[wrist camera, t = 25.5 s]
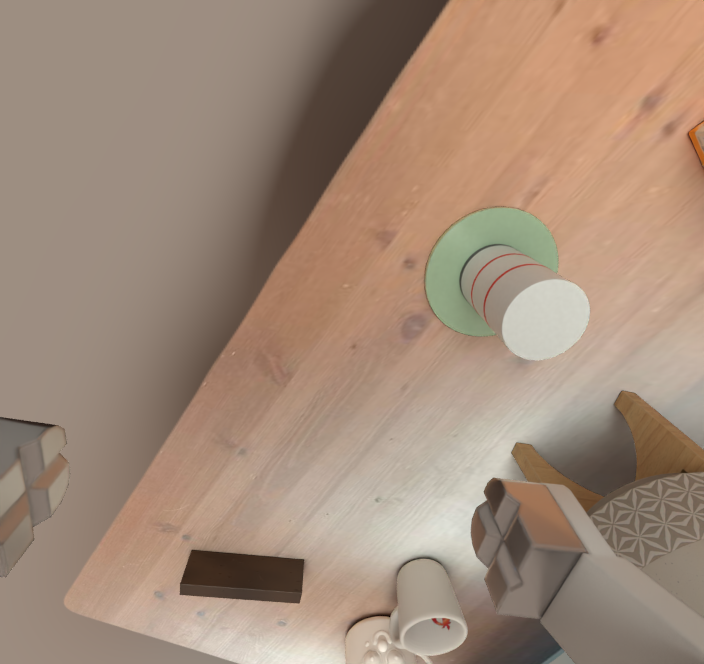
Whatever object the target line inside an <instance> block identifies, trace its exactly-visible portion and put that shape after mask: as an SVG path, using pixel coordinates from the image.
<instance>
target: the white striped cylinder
mask: <svg viewBox="0 0 704 664" xmlns="http://www.w3.org/2000/svg"><path fill="white" fill-rule="evenodd" d="M459 284H460V290H461V292H462V294H463V296H464V298H465V299H466V300H467V301H468V302H469V303H470V305H471V306H472V307H473V308H474V309H475V310H476V312H477V313H478V314H479V315H480V316H481V317H482V318H483V320H484V321H485V322H486V323H487V324H488V325H489V327H490V328H491V329H492V330H493V331H494V332H495V334H496V335H497V336H498V337H499V338H500V339H501V341H502V342H503V343H504V344H505V345H506V346H507V348H508V349H509V350H510V351H511V352H512V353H514V354H515V355H517V356H519V357H521V358H524V359H528V360H545V359H549V358H553V357H555V356H558V355H560V354H562V353H564V352H565V351H567V350H568V349H569V348H571V347H572V346H573V345H574V344H575V343H576V342H577V341H578V340H579V339H580V337H581V336H582V334H583V333H584V331H585V329H586V327H587V324H588V322H589V317H590V305H589V301H588V298H587V296H586V294H585V293H584V291H583V290H582V289H581V288H580V287H579V286H577V285H576V284H574V283H572V282H571V281H569V280H567V279H566V278H564V277H562V276H560V275H559V274H557V273H555V272H554V271H552V270H551V269H549V268H547V267H545V266H543V265H542V264H540V263H538V262H536V261H535V260H533V259H532V258H530V257H528V256H526V255H524V254H523V253H521V252H519V251H518V250H516V249H515V248H513V247H511V246H508V245H505V244H492V245H488V246H485V247H483V248H481V249H479V250H477V251H476V252H474V253H473V254H472V255H471V256H470V257H469V258H468V259H467V261H466V262H465V264H464V266H463V268H462V270H461V273H460V279H459Z"/></svg>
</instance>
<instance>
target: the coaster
mask: <svg viewBox="0 0 704 664" xmlns="http://www.w3.org/2000/svg"><path fill="white" fill-rule="evenodd" d="M492 244H505V245H508V246H511V247H513V248H515V249H516V250H518V251H519V252H521V253H523V254H524V255H526V256H528V257H530V258H532V259H533V260H535V261H536V262H538V263H540V264H542V265H543V266H545V267H547V268H549V269H551V270H552V271H554V272H555V273H557V272H558V252H557V247H556V244H555V241H554V238H553V236H552V235H551V233H550V231H549V230H548V229H547V227H546V226H545V225H544V224H543V223H542V222H541V221H540V220H539V219H537V218H536V217H534V216H533V215H531V214H529V213H527V212H525V211H522V210H519V209H516V208H511V207H490V208H485V209H481V210H478V211H475V212H473V213H470V214H468V215H466V216H465V217H463V218H461V219H459V220H458V221H457V222H455V223H454V224H453V225H451V226H450V227H449V228H448V229H447V230H446V231H445V232H444V233H443V235H442V236H441V237H440V238H439V240H438V241H437V243H436V244H435V246H434V247H433V249H432V251H431V253H430V256H429V259H428V261H427V265H426V270H425V279H424V282H425V291H426V296H427V299H428V302H429V304H430V306H431V308H432V310H433V312H434V313H435V314H436V316H437V317H438V318H439V319H440V320H441V321H442V322H443V323H444V324H445V325H447V326H448V327H449V328H451V329H453V330H455V331H457V332H459V333H462V334H466V335H470V336H493V335H496V334H495V332H494V331H493V330H492V329H491V328H490V327H489V325H488V324H487V323H486V322H485V321H484V320H483V318H482V317H481V316H480V315H479V314H478V313H477V312H476V310H475V309H474V308H473V307H472V306H471V305H470V303H469V302H468V301H467V300H466V299H465V298H464V296H463V294H462V292H461V290H460V284H459V279H460V273H461V270H462V268H463V266H464V264H465V262H466V261H467V259H468V258H469V257H470V256H471V255H472V254H473V253H474V252H476V251H477V250H479V249H481V248H483V247H485V246H488V245H492Z"/></svg>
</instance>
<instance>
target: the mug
mask: <svg viewBox="0 0 704 664" xmlns="http://www.w3.org/2000/svg"><path fill="white" fill-rule="evenodd" d="M389 623H390V617H387V616H376V617H370V618H367V619H364V620H362V621H360V622H358V623H356V624H355V625H354V626H353V627H352V628H351V629H350V630H349V632H348V634H347V636H346V639H345V659H346V664H417V662H416V656H415V655H418V654H415V653H412V652H410V651H408V650H407V649H400V648H397V647H396V646H394V645H393V643H392V641H391V638H390V631H389ZM418 656H420V657H422V658H423V659H424V661H425V662H426V664H433V663H432V660H431V659H430V657H429V656H425V655H418Z"/></svg>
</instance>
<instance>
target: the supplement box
mask: <svg viewBox="0 0 704 664" xmlns="http://www.w3.org/2000/svg"><path fill="white" fill-rule="evenodd" d="M689 136H690V138H691V139H692V143H693V144H694V147H695V149H696V151H697V154H698V156H699V158H700V161H701V163H702V165H703V168H704V121H703V122H702V123H701V124H699V125H698V126H696V127H695V128H694V129H692V130H691V131H690V132H689Z"/></svg>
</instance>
